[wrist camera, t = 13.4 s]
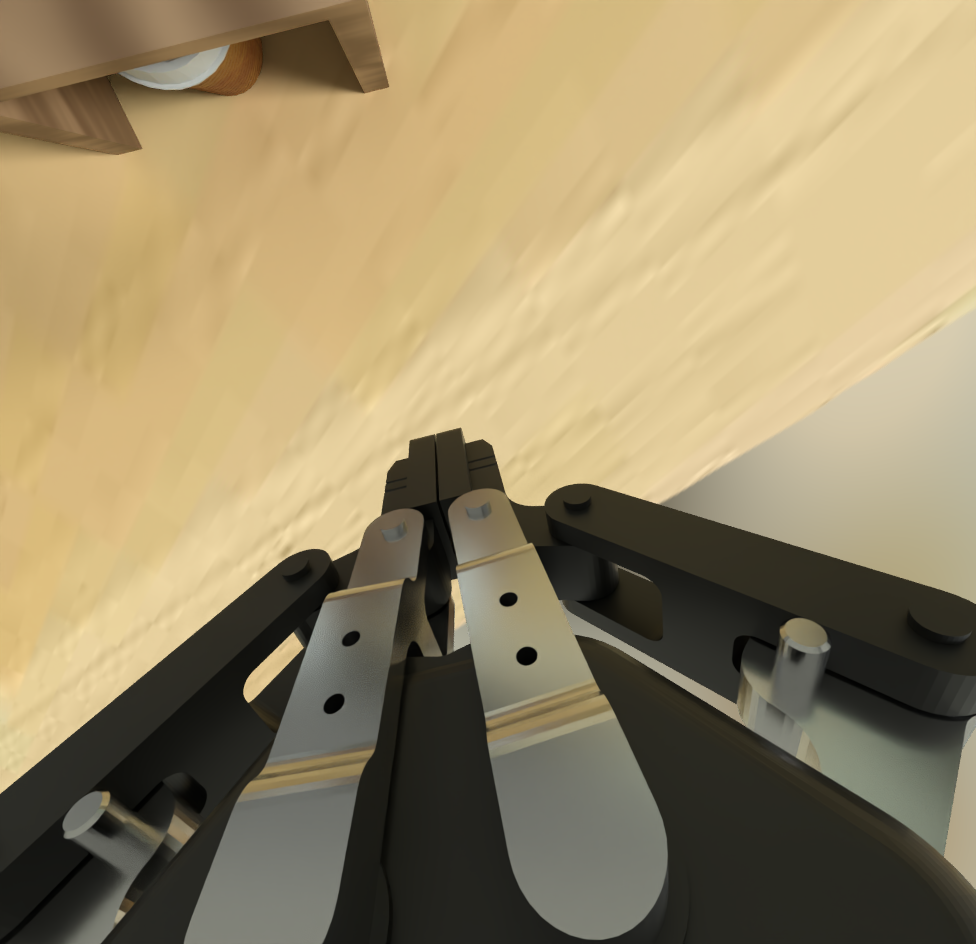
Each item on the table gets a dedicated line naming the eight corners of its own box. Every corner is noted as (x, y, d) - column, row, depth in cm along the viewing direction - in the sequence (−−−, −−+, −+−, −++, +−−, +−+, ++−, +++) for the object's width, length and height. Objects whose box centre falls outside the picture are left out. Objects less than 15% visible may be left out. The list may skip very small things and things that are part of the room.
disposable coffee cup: (127, 61, 33) (-9, -9, 23) (166, -95, 30) (29, -259, 19) (258, 151, 37) (192, 126, 26) (306, 20, 33) (253, -67, 23)
